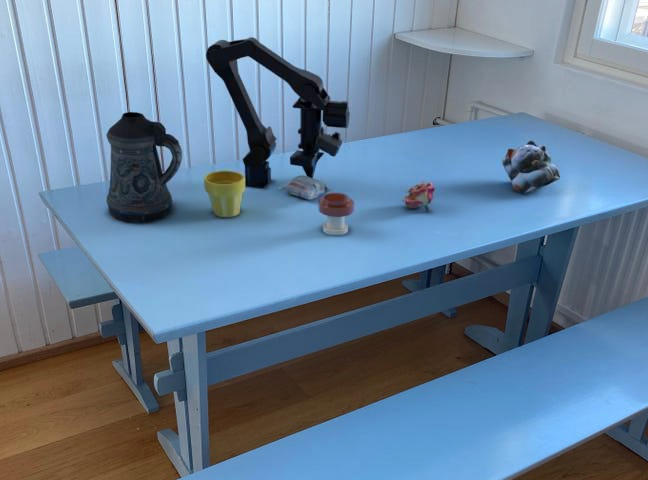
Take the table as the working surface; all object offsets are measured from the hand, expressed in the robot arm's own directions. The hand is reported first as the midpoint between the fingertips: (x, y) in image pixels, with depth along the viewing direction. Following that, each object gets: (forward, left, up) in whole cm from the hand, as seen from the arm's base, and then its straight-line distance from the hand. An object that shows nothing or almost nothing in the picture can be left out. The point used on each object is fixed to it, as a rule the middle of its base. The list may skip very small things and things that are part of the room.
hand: (310, 179), depth 209 cm
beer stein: (-35, -30, -3) cm, 47 cm away
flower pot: (-15, -24, -3) cm, 29 cm away
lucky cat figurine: (+60, +25, -3) cm, 65 cm away
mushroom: (+15, -24, -3) cm, 28 cm away
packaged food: (0, -6, -3) cm, 7 cm away
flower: (+32, -3, -3) cm, 32 cm away
